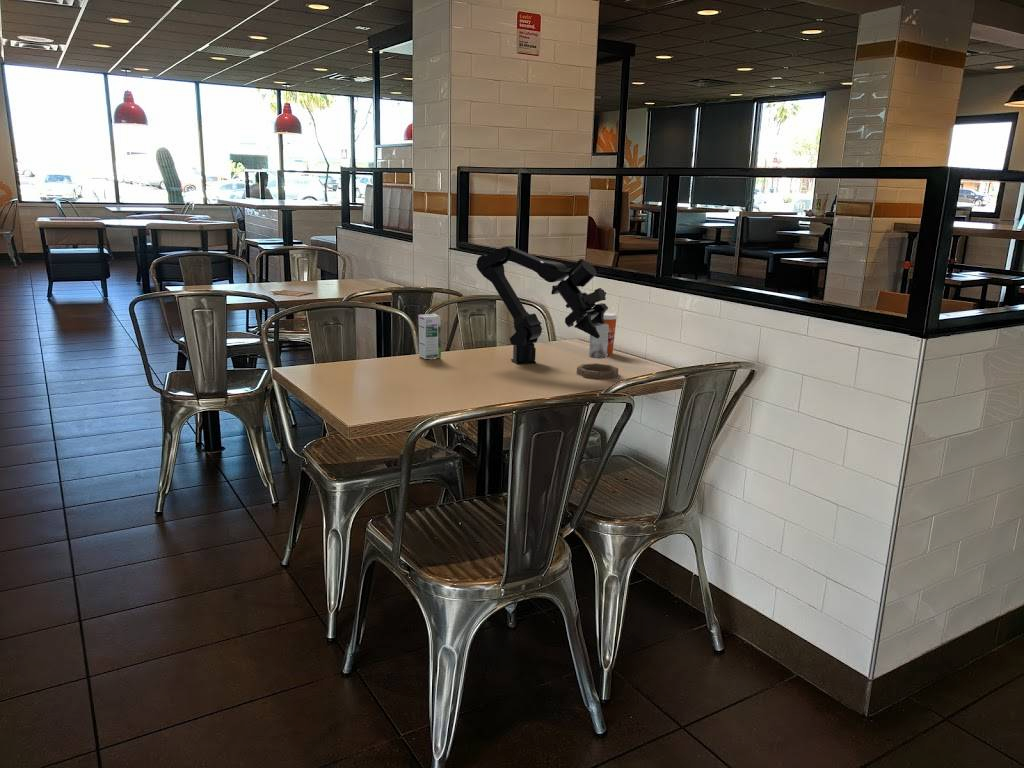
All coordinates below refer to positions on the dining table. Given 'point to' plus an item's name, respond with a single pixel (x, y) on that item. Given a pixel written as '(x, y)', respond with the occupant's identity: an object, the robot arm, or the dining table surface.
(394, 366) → the dining table surface
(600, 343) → the metal tumbler
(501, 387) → the dining table surface
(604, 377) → the bore ring
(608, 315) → the paper cup
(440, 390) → the dining table surface
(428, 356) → the syrup box
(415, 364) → the dining table surface
